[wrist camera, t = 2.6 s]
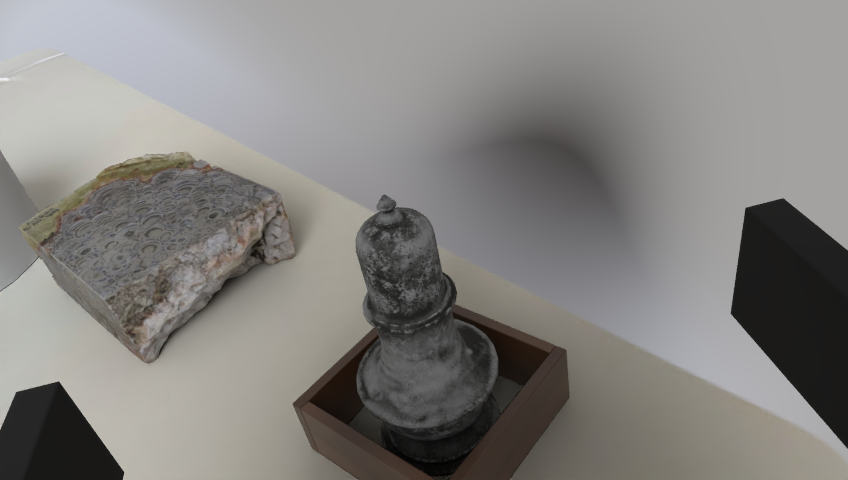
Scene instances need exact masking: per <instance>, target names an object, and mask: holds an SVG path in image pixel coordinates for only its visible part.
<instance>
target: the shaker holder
mask: <svg viewBox="0 0 848 480" xmlns="http://www.w3.org/2000/svg"><path fill="white" fill-rule="evenodd" d="M452 313H453V318H454V319H457V320H460V321H463V322H465V323H468V324H471V325H473V326H475V327H476V328H477V329H479V330H480V331H482V332H483V333H485V334H486V336H487V337H488V338H489V339H490V341H491V342H492V343H493V345H494V347H495V350H496V353H497V356H498V374H500V375H502V376H504V377H506V378H508V379H510V380H512V381H515V382H517V383H519V384H521V385H523V386H524V387H523V388H522V389H521V391H520V392H519V393H518V394H517V395H516V397H515V398H514V399H513V400H512V402H511V403H510V404H509V405H508V407H507V408H506V409H505V410H504V412H503V413H502V414H501V415H500V417H499V418H498V419H497V420H496V422H495V423H494V424H493V425H492V427H491V428H490V429H489V430H488V431H487V433H486V434H485V435H484V436H483V438H482V439H481V440H480V441H479V443H478V444H477V445H476V446H475V448H474V449H473V450H472V451H471V453H470V454H469V455H468V456H467V458H466V459H465V460H464V461H463V463H462V464H461V465H460V466H459V468H458V469H457V470H456V471H455V472H454V474H453V475H452V476H451V477H450V479H449V480H509V478H510V477H511V476H512V474H513V473H514V472H515V470H516V469H517V468H518V466H519V465H520V464H521V462H522V461H523V459H524V458H525V457H526V455H527V454H528V453H529V451H530V450H531V449H532V447H533V446H534V445H535V443H536V442H537V441H538V439H539V438H540V436H541V435H542V434H543V432H544V431H545V430H546V428H547V427H548V426H549V424H550V423H551V422H552V420H553V419H554V417H555V416H556V415H557V413H558V412H559V411H560V409H561V408H562V407H563V405H564V404H565V403H566V401H567V400H568V398H569V384H568V369H567V353H566V350H565V349H563V348H560V347H558V346H555V345H553V344H550V343H548V342H545V341H543V340H541V339H538V338H536V337H533V336H531V335H528V334H526V333H524V332H521V331H519V330H516V329H514V328H511V327H509V326H506V325H504V324H502V323H499V322H497V321H494V320H492V319H489V318H487V317H484V316H482V315H480V314H477V313H475V312H472V311H470V310H467V309H465V308H463V307H460V306H458V305H455V304H454V306H453V308H452ZM378 339H379V335H378V331H377V329H376V328H373V329H372V330H371V331H370V332H369V333H368V334H367V335H366V336H365V337H364V338H363V339H362V340H360V341H359V342H358V343H357V344H356V345H355V346H354V347H353V348H352V349H351V350H350V351H349V352H348V353H347V354H345V355H344V356H343V357H342V358H341V359H340V360H339V361H338V362H337V363H336V364H335V365H334V366H333V367H332V368H330V369H329V370H328V371H327V372H326V373H325V374H324V375H323V376H322V377H321V378H320V379H319V380H318V381H316V382H315V383H314V384H313V385H312V386H311V387H310V388H309V389H308V390H307V391H306V392H305V393H304V394H303V395H301V396H300V397H299V398H298V399H297V400H296V401H295V402H294V403H293V406H294V408H295V411H296V413H297V415H298V418H299V420H300V422H301V424H302V427H303V429H304V431H305V433H306V436H307V438H308V440H309V443H310V445H311V447H312V448H313V449H314V450H316V451H317V452H319V453H320V454H322V455H323V456H325V457H326V458H328V459H329V460H331V461H332V462H334V463H335V464H337V465H338V466H340V467H341V468H343V469H344V470H345V471H347V472H348V473H350V474H351V475H353V476H354V477H356V478H357V479H359V480H435V479H433V478H432V477H430V476H429V475H427V474H425V473H424V472H422V471H421V470H419V469H417V468H416V467H414V466H412V465H411V464H409V463H408V462H406V461H404V460H403V459H401V458H400V457H398V456H396V455H395V454H393V453H391V452H390V451H388V450H387V449H385V448H383V447H382V446H380V445H379V444H377V443H375V442H374V441H372V440H370V439H369V438H367V437H366V436H364V435H362V434H361V433H359V432H358V431H356V430H354V429H353V428H351V427H349V426H348V425H346V424H347V423H348V422H349V421H350V420H351V419H352V418H353V417H354V416H355V415H356V414H357V413H358V412H359V411H360V410H361V409H362V408H363V407H364V404H363V402H362V400H361V398H360V396H359V394H358V391H357V380H356V376H357V372H358V368H359V364H360V362H361V360H362V358H363V357H364V355H365V353H366V352H367V350H368V349H369V348H370V347H371V346H372V345H373V344H374V343H375V342H376V341H377V340H378Z"/></svg>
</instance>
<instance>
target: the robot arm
mask: <svg viewBox="0 0 848 480" xmlns="http://www.w3.org/2000/svg"><path fill="white" fill-rule="evenodd" d="M731 314H732V315H733V317H734V318H735V319H736V320H737V321H738V322H739V324H740V325H741V326H742V327H743V328H744V329H745V331H746V332H747V333H748V334H749V335H750V336H751V338H752V339H753V340H754V341H755V342H756V343H757V344H758V346H759V347H760V348H761V349H762V350H763V351H764V353H765V354H766V355H767V356H768V357H769V358H770V359H771V360H772V362H773V363H774V364H775V365H776V366H777V367H778V369H779V370H780V371H781V372H782V373H783V374H784V376H785V377H786V378H787V379H788V380H789V381H790V383H791V384H792V385H793V386H794V387H795V388H796V389H797V391H798V392H799V393H800V394H801V395H802V396H803V398H804V399H805V400H806V401H807V402H808V403H809V405H810V406H811V407H812V408H813V409H814V410H815V411H816V413H817V414H818V415H819V416H820V417H821V418H822V419H823V421H824V422H825V423H826V424H827V425H828V426H829V427H830V429H831V430H832V431H833V432H834V433H835V434H836V436H837V437H838V438H839V439H840V440H841V441H842V443H843V444H844V445H845V446H846V447H847V448H848V250H846V249H845V248H844V247H843V246H841V245H840V244H839V243H838V242H836V241H835V240H834V239H833V238H832V237H830V236H829V235H828V234H826V233H825V232H824V231H823V230H822V229H820V228H819V227H818V226H817V225H815V224H814V223H813V222H812V221H810V220H809V219H808V218H807V217H806V216H804V215H803V214H802V213H801V212H799V211H798V210H797V209H796V208H795V207H793V206H792V205H791V204H790V203H788V202H787V201H786V200H785V199H779V200H775V201H771V202H767V203H763V204H759V205H755V206H751V207H747V208H746V209H745V216H744V223H743V230H742V238H741V245H740V252H739V258H738V265H737V273H736V280H735V287H734V294H733V302H732V308H731ZM123 476H124V471H123V470H122V469H121V467H120V466H119V464H118V463H117V462H116V460H115V459H114V457H113V456H112V455H111V453H110V452H109V450H108V449H107V448H106V446H105V445H104V443H103V442H102V441H101V439H100V438H99V437H98V435H97V434H96V432H95V431H94V430H93V428H92V427H91V425H90V424H89V423H88V421H87V420H86V418H85V417H84V416H83V414H82V413H81V411H80V410H79V409H78V407H77V406H76V405H75V403H74V402H73V400H72V399H71V398H70V396H69V395H68V393H67V392H66V391H65V389H64V388H63V386H62V385H61V384H60V382H55V383H51V384H47V385H43V386H39V387H35V388H31V389H27V390H23V391H19V392H16V394H15V397H14V399H13V401H12V404H11V406H10V408H9V411H8V413H7V415H6V418H5V420H4V423H3V425H2V427H1V430H0V480H123Z"/></svg>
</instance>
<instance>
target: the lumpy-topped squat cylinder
mask: <svg viewBox="0 0 848 480" xmlns="http://www.w3.org/2000/svg"><path fill="white" fill-rule="evenodd" d="M36 213H38V210H37V208H36V207H35V205H34V203H33V202H32V200H31V199H30V197H29V195H28V194H27V192H26V191H25V189H24V187H23V186H22V184H21V183H20V181H19V180H18V178H17V176H16V175H15V173H14V172H13V170H12V169H11V167H10V165H9V164H8V162H7V161H6V159H5V158H4V156H3V154H2V153H1V151H0V291H1V290H2V289H4V288H5V287H7V286H8V285H9V284H11V283H12V282H13V281H15V280H16V279H17V278H18V277H19V276H20V275H21V274H22V273H23V272H24V271H25V270H26V269H27V268H28V267H29V266H30V265H31V264H32V263H33V262H34V261H35V260H36V259H37V258H38V257H39V256H38V255H37V254H36V252H35V251H34V250H33V248H32V247H31V246H30V245H29V244H28V242H27V241H26V239H25V238H24V236H23V235H22V233H21V231H20V229H19V226H20V225H22V224H23V223H25V222H26V221H28V220H29V219H31V218H32V217H33V216H34V215H35V214H36Z"/></svg>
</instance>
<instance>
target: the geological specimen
mask: <svg viewBox="0 0 848 480" xmlns="http://www.w3.org/2000/svg"><path fill="white" fill-rule="evenodd" d="M282 202H283V201H282V198H281V194H280V193H279V192H277V191H275V190H273V189H270V188H268V187H265V186H263V185H261V184H258V183H256V182H253V181H251V180H248V179H246V178H243V177H241V176H239V175H236V174H233V173H230V172H228V171H226V170H224V169H222V168H220V167H217V166H214V167H212V168H211V166H210V165H209V164H208V163H207V162H205V161H203V160H199V161H196V160H195V159H194V158H193V157H192V156H191V155H190V153H188V152H176V153H170V154H147V155H144V156H142V157H138V158H134V159H128V160H126V161H125V162H123V163H120V164H116V165H113V166H110V167H108V168H106V169H104V170H103V171H102V172H101V173H100V174H99V175H98V176H97V177H96V178H95V179H93V180H91V181H90V182H88V183H86V184H84V185H83V186H82V187H80V188H78V189H77V190H75V191H74V193H72V194H71V195H69V196H67V197H65V198H64V199H62V200H61V201H60V202H58V203H55V204H52V205H50V206H49V207H47V208H46V209H44V210H42V211H40V212H38V213H36V214H35V215H34V216H33V217H32V218H31V219H29V220H28V221H26V222H25V223H23V224H22V225H20V226H19V229H20V231H21V233H22V235H23V236H24V238H25V239H26V241H27V242H28V244H29V245H30V246H31V247H32V248H33V250H34V251H35V252H36V254H37V255H38V256H39V257H40V259H42V260H43V261H44V263H45V264H46V266H47V267H48V269H49V270H50V272H51V273H52V274H53V276H52V277H53V278H54V280H55V281H56V283H57V284H58V285H59V286H60V287H61V288H62V289H63V290H64V291H66V292H67V293H68V294H69V295H70V296H71V297H72V298H73V299H75V300H76V301H77V302H78V303H79V304H80V305H81V306H82V307H83V308H84V309H85V310H86V311H87V312H88V313H89V314H90V315H91V316H92V317H94V318H95V319H96V320H97V321H98V322H99V323H100V324H101V325H102V326H104V327H105V328H106V329H107V330H108V331H109V332H110V333H111V334H113V335H114V336H115V337H116V338H117V339H118V340H119V341H120V342H121V343H122V344H123V345H125V346H126V347H127V348H128V349H129V350H130V351H131V352H132V353H134V354H135V355H136V356H137V357H139V358H140V359H141V360H142V361H144V362H145V363H150V362H153V361H154V360H155V359H156V358H158V355H159V351H160V349H161V347H162V345H163V344H164V342H165V341H166V340H167V338H168V336H169V334H170V333H171V332H172V331H173V330H175V329H176V328H178V327H180V326H182V325H184V324H185V323H186V322H187V321H188V320H189V319H190V318H191V317H192V316H193V315H194V314H195V313H196V312H198V311H200V310H201V309H203V308H204V307H205V306H206V305H207V303H208V302H209V300H211V298H212V296H213V294H214V293H216V292H217V291H218V290H221V287H222V285H223V284H224V282H225V281H226V280H227V279H228V278H233V277H238V276H240V275H242V274H245V273H247V271H248V270H249V269H250V268H251V267H252V266H253V265H256V264H258V263H266V264H269V265H272V264H275V263H277V262H278V261H280V260H283V259H291V258H293V257H294V256H295V251H294V242H293V238H292V233H291V232H290V230H291V226H290V221H289V219H288V217H287V215H286V212H285V210H284V207H283V203H282Z"/></svg>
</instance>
